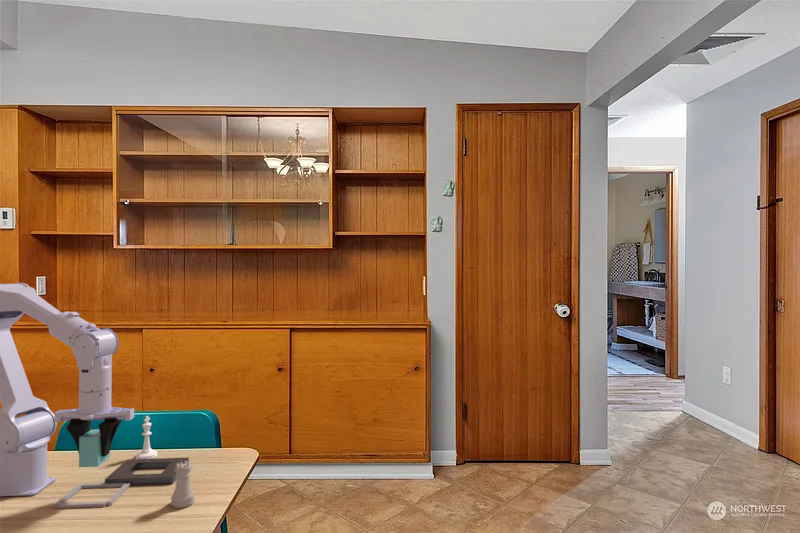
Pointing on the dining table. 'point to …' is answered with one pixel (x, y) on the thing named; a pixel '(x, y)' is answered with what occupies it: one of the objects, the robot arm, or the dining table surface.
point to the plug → (91, 449)
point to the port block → (131, 465)
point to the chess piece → (146, 443)
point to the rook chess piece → (182, 486)
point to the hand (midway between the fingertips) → (94, 455)
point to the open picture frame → (62, 501)
